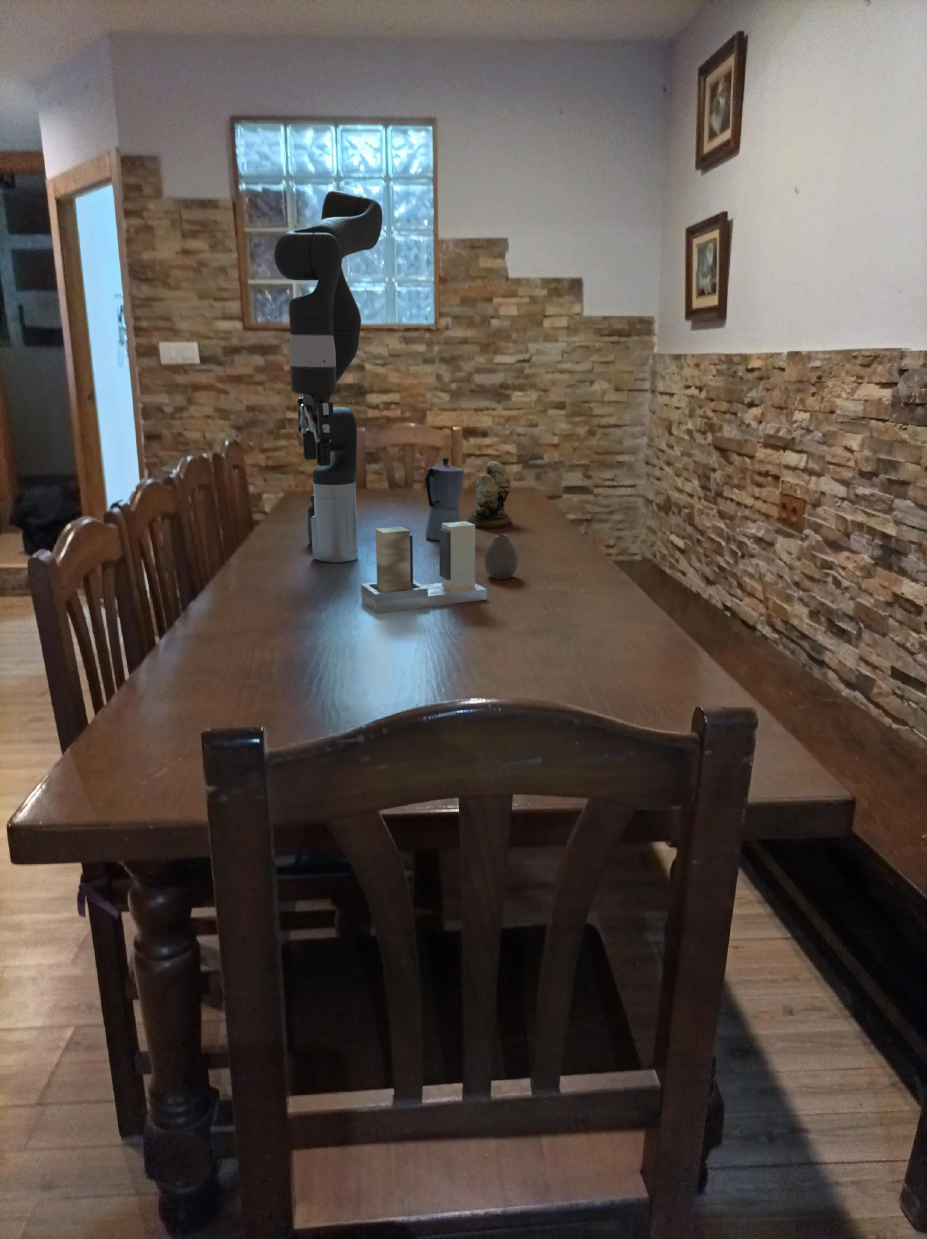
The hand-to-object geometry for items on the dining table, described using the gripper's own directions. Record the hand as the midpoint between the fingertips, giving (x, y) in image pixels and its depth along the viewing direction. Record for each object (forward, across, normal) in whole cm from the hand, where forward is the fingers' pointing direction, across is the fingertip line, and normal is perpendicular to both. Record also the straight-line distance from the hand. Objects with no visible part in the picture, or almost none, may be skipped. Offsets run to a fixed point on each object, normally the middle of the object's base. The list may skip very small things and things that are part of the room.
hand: (316, 462), depth 148 cm
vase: (+27, +8, -40) cm, 49 cm away
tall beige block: (+24, -2, -13) cm, 28 cm away
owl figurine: (+28, +64, -65) cm, 95 cm away
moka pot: (+28, +49, -45) cm, 72 cm away
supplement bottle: (+28, +55, -15) cm, 64 cm away
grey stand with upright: (+26, -2, -19) cm, 32 cm away
